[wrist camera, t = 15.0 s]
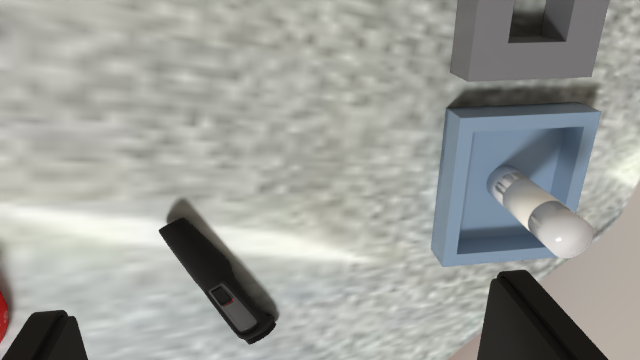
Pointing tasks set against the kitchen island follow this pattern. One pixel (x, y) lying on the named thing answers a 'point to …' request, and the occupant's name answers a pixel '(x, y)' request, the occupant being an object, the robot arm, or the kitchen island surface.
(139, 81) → the kitchen island surface
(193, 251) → the electric trimmer
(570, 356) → the robot arm
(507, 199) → the white rounded cylinder piece
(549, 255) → the parts tray
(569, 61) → the gray square hole block
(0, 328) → the knit hat
